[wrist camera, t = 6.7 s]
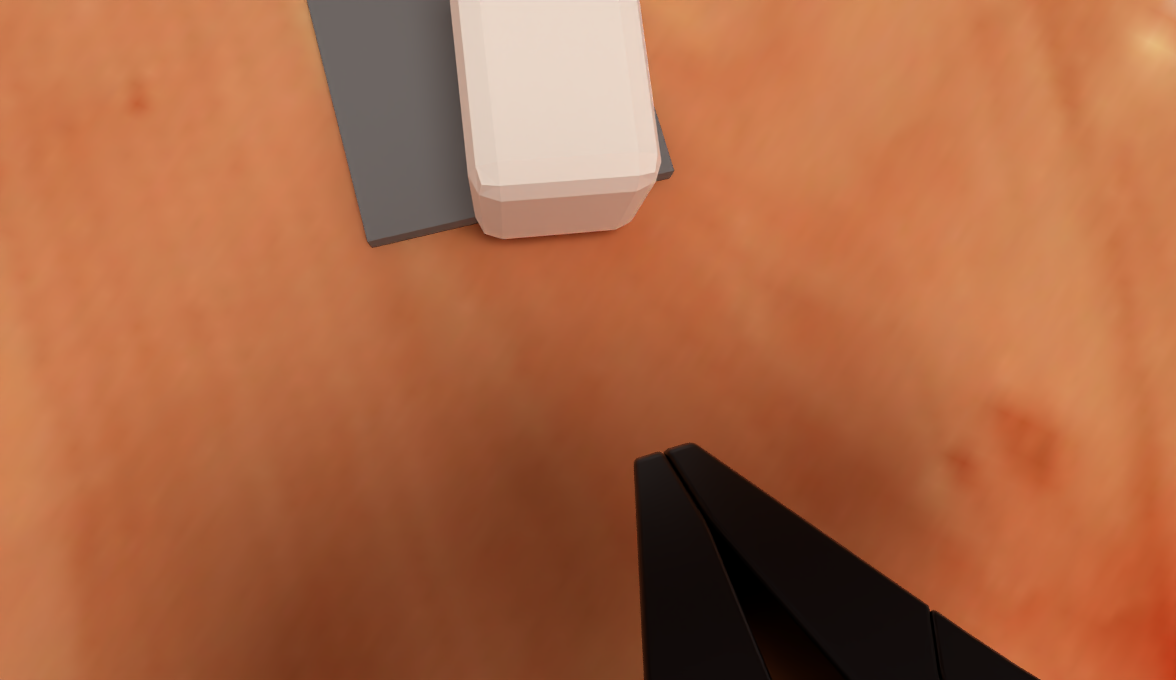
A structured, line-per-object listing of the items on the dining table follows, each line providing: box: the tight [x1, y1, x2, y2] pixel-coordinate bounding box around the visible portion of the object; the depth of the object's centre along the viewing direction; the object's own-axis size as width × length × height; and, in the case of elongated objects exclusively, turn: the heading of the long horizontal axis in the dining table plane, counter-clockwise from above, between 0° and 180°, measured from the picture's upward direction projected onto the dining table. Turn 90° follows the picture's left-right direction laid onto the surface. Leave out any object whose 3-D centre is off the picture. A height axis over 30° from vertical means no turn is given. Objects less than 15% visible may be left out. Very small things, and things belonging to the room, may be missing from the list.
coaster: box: [307, 0, 674, 248], centre depth 17 cm, size 7×8×1 cm
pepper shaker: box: [450, 0, 661, 239], centre depth 15 cm, size 4×4×10 cm
